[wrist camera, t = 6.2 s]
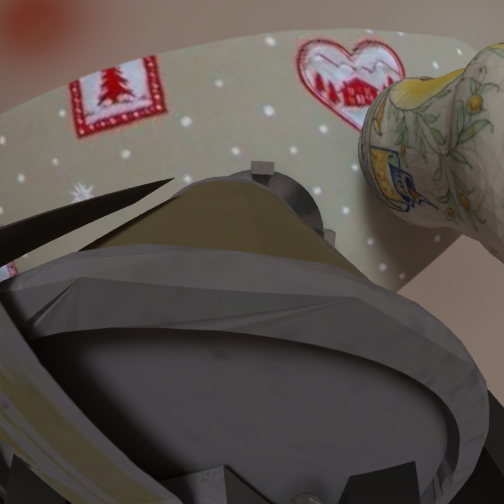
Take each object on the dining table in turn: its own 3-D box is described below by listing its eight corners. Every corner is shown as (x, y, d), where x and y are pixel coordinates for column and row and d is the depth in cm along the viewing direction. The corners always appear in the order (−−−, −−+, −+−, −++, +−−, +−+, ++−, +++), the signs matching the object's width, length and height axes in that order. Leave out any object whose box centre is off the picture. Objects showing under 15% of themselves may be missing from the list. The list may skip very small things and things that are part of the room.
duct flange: (187, 299, 42) (183, 310, 38) (186, 160, 37) (182, 160, 34) (319, 300, 43) (326, 311, 40) (331, 166, 38) (340, 167, 35)
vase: (437, 86, 36) (608, 52, 7) (457, 204, 41) (625, 259, 12) (326, 94, 36) (497, -6, 7) (354, 230, 41) (530, 343, 12)
